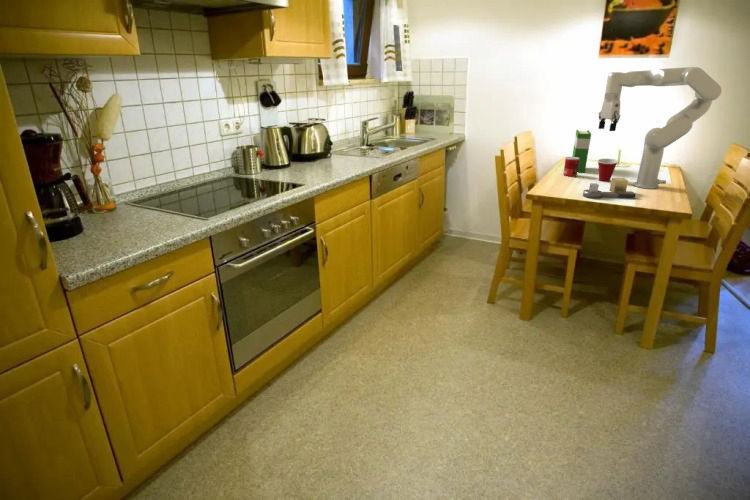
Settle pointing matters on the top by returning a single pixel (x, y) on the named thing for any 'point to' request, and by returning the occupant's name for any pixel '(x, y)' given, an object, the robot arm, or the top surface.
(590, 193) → the ratchet
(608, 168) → the plastic cup
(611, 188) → the tan wooden block
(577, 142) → the hardback book
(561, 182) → the top surface
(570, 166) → the canned food
